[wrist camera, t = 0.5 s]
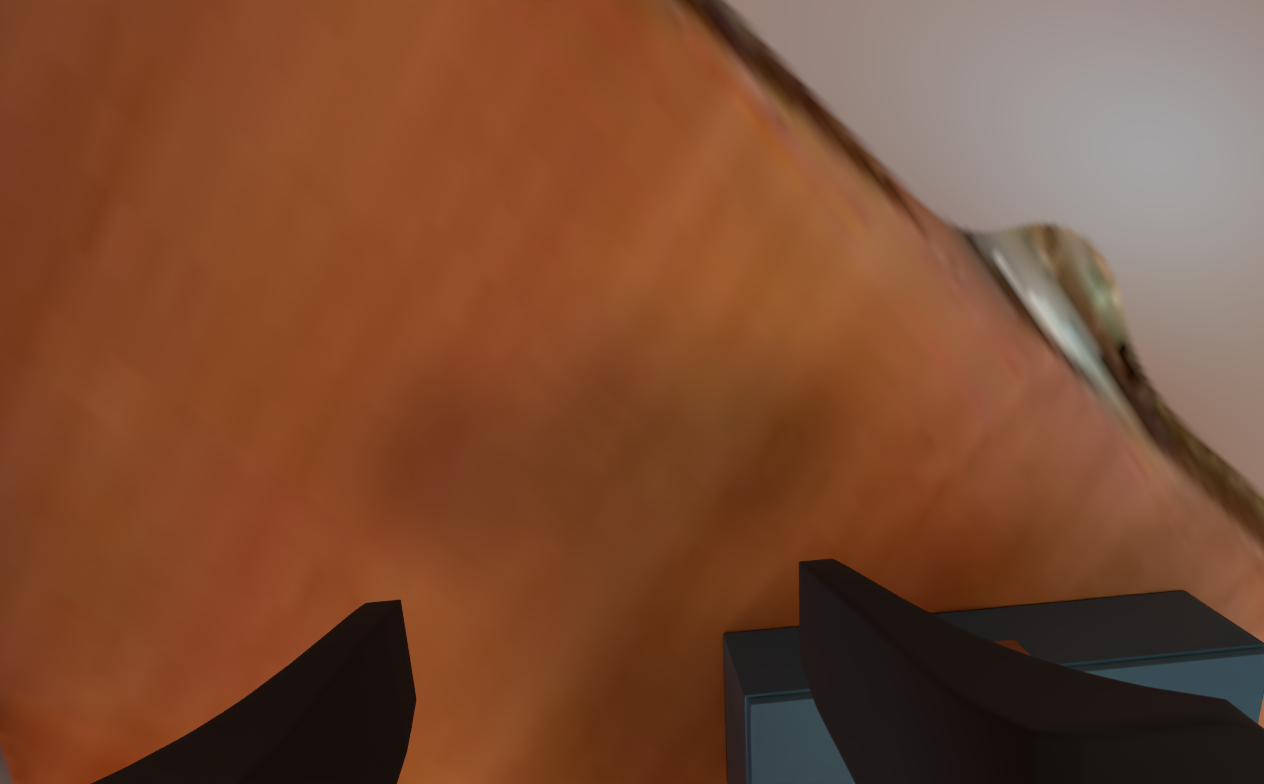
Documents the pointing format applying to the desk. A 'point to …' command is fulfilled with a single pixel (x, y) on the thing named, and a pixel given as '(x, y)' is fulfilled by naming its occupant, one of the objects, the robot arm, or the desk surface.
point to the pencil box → (1056, 632)
